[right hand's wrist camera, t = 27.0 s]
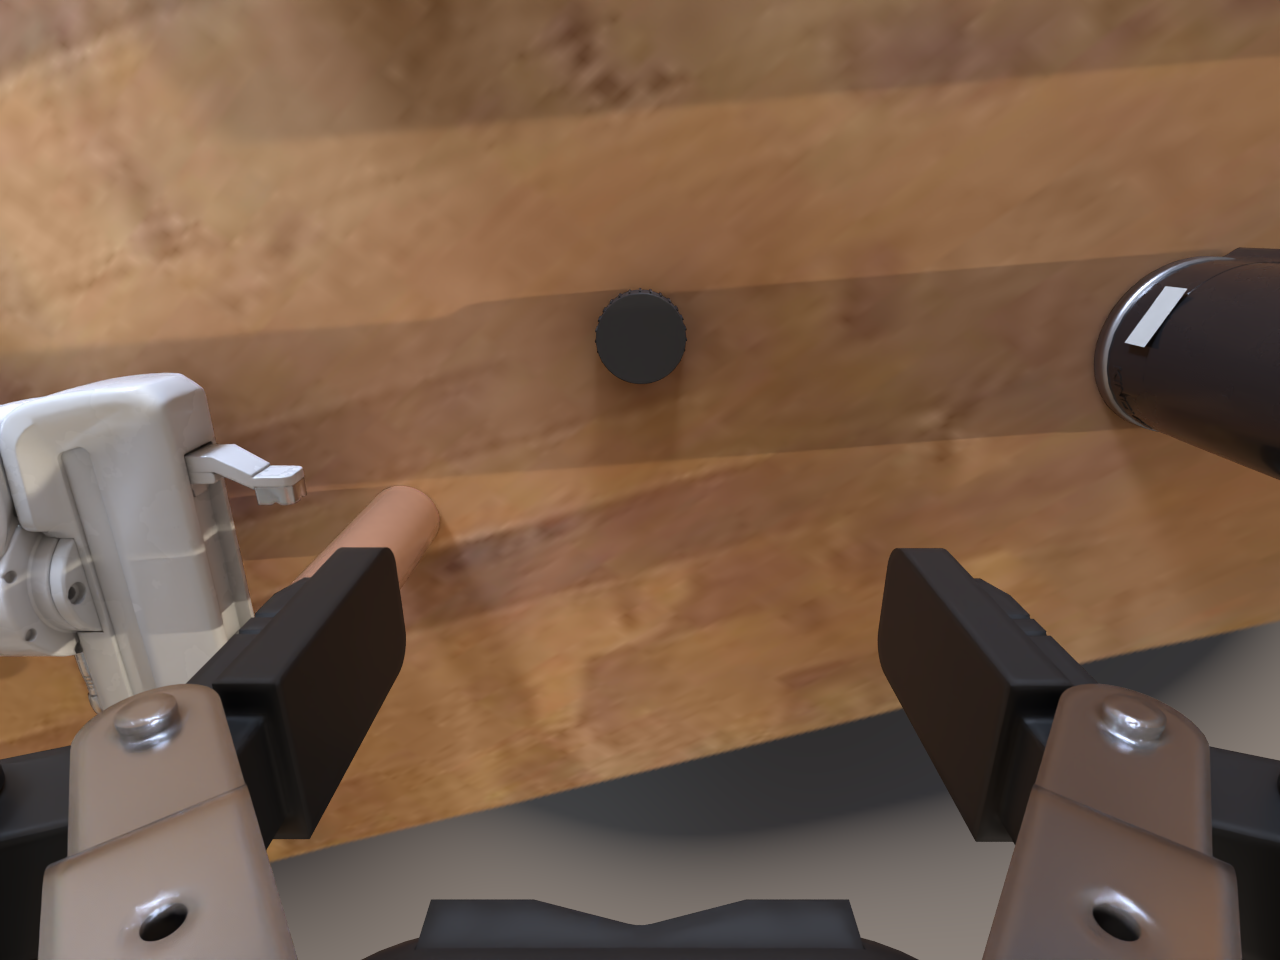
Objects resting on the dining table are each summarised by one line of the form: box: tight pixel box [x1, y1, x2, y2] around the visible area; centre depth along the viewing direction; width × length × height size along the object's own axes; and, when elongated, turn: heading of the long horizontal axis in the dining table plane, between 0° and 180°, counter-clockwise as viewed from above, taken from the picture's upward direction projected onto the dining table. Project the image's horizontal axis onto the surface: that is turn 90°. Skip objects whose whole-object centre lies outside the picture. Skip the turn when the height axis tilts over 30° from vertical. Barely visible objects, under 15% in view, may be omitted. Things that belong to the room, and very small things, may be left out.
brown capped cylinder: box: [289, 486, 440, 590], centre depth 33 cm, size 4×4×18 cm
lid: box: [595, 288, 687, 384], centre depth 37 cm, size 5×5×2 cm
